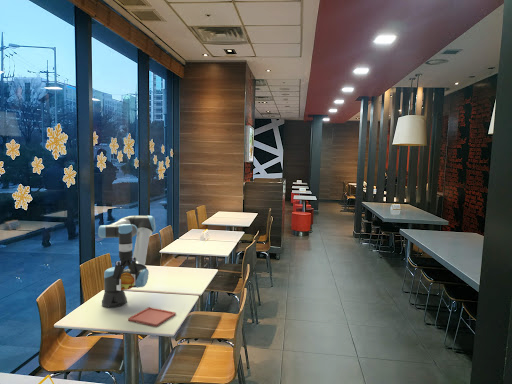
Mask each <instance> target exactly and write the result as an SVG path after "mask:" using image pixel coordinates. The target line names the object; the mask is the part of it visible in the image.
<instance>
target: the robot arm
mask: <svg viewBox="0 0 512 384" xmlns="http://www.w3.org/2000/svg"><path fill="white" fill-rule="evenodd" d="M156 228H157V227H156V219H155V216H153V215H128V216H125V217H122V218H119V220H117V221H116V222H113V223H111V224H107V225H99V227H98V230H97V235H98V237H99V238H103V239H109V238H110V239H112V238H114V239H115V238H116V239H118V251H119V252H118V258H119V260H118V261H115V263H114V265H115V266H113V267H109V268H107V269H106V270H104V272H103V273H104V275H103V278H104V279H103V283H104V284H103V286H104V293H103V297H102V300H101V306H102V307H104V308H109V309H110V308H118V307H122V306H124V305H127V302H128V298H127V296H126V293H125V290H121V279H120V277H121V274H123V273H130V274H131V275H132V276H133V277H134V280H135V282H134V286H133V287H132V288H144V287H145V286H146V285H147V284H148V280H149V275H150V274H149V269H148V268H147V266H146V260H147V254H148V247H149V242H150V237H151V236H152V235H153V233H155V232H156ZM135 236H136V237H135ZM133 237H135V243H134V248H133ZM126 267H127V268H126ZM116 286H117V287H116ZM132 288H131V289H132Z"/></svg>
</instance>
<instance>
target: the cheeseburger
mask: <svg viewBox="0 0 512 384" xmlns="http://www.w3.org/2000/svg"><path fill="white" fill-rule="evenodd" d="M120 279H121V290H124V291H125V290H131V289H132V287H133V286H134V282H135V280H134V277H133V276H132V275H131V274H130V273H123V274H121V277H120ZM116 287H117V286H116Z"/></svg>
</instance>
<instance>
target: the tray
mask: <svg viewBox="0 0 512 384" xmlns="http://www.w3.org/2000/svg"><path fill="white" fill-rule="evenodd" d="M176 314H177V313H176V312H175V311H169V310H165V309H160V308H156V307H147V308H145V309H143V310H141V311H139V312H137V313H135V314H134V315H131V316H129V317H128V318H127V320H128V321H129V322H133V323H137V324H141V325H146V326H149V327H153V328H155V327H156V328H157V327H160V325H162V324H163V323H165V322H167V321H168V320H170V319H171V318H173V317H176Z"/></svg>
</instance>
